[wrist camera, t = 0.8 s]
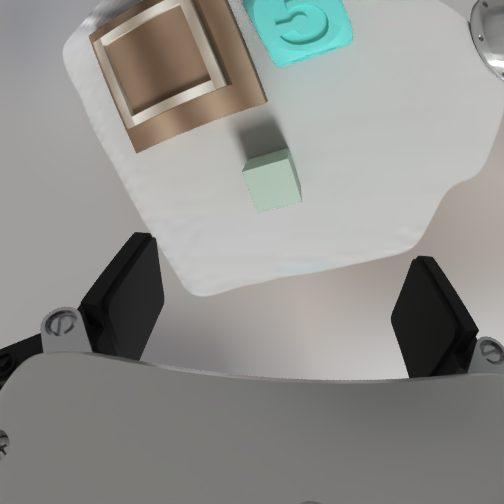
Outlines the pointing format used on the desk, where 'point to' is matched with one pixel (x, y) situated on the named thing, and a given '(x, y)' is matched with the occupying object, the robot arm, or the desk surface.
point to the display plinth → (206, 104)
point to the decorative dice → (300, 27)
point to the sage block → (272, 181)
